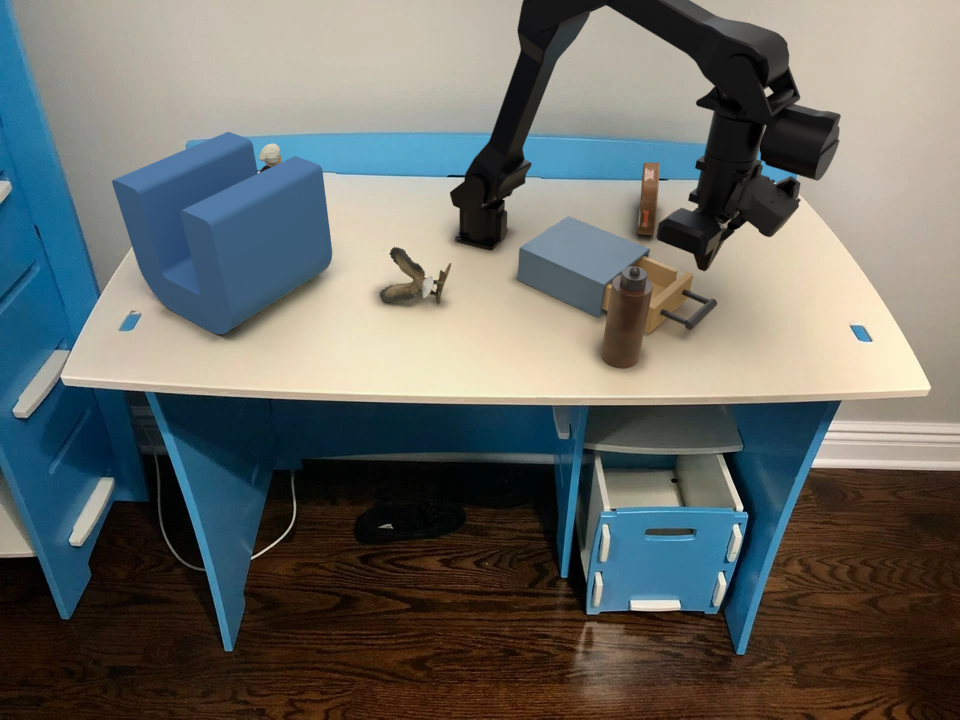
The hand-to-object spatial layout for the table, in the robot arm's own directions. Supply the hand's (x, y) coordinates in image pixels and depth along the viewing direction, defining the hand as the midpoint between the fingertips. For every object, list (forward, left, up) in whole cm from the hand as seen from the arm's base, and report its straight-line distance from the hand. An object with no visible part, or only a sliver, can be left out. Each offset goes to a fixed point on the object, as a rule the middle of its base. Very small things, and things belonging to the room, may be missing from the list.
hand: (702, 269), depth 95 cm
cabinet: (-17, +5, -9) cm, 20 cm away
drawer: (-7, +2, -9) cm, 11 cm away
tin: (-13, +26, -10) cm, 30 cm away
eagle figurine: (-37, -9, -10) cm, 39 cm away
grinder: (-7, -10, -9) cm, 15 cm away
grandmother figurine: (-66, +1, -10) cm, 66 cm away
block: (-59, -18, -10) cm, 62 cm away
